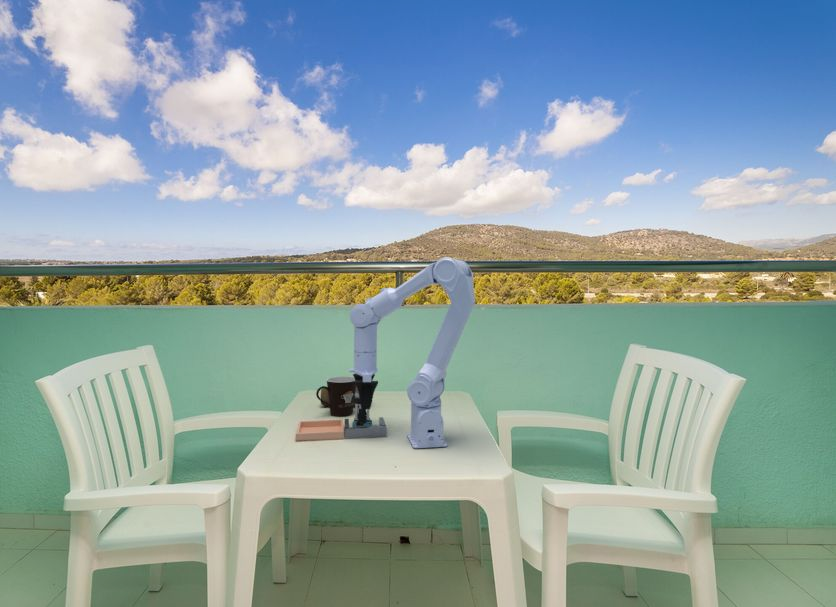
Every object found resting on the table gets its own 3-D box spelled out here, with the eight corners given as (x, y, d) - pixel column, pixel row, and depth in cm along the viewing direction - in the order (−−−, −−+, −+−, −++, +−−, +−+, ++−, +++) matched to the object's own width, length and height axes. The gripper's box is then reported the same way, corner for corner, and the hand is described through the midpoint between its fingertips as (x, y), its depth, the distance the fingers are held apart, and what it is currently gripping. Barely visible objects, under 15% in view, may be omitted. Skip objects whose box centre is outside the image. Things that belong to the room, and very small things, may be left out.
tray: (343, 439, 107) (343, 431, 107) (295, 441, 105) (295, 433, 105) (342, 426, 117) (342, 419, 117) (298, 428, 115) (298, 421, 115)
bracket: (386, 436, 110) (386, 427, 109) (345, 438, 108) (345, 428, 108) (382, 426, 118) (382, 417, 118) (344, 428, 116) (344, 418, 116)
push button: (378, 428, 116) (379, 390, 116) (376, 435, 111) (376, 395, 110) (353, 427, 116) (353, 389, 116) (349, 434, 111) (350, 394, 111)
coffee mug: (354, 409, 135) (354, 376, 134) (358, 416, 126) (358, 381, 126) (315, 411, 132) (315, 377, 131) (316, 419, 123) (316, 383, 123)
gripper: (348, 347, 119) (347, 398, 120) (350, 356, 105) (349, 413, 105) (374, 347, 121) (374, 397, 121) (380, 355, 106) (379, 412, 107)
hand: (364, 404), depth 113 cm, fingers open, 7 cm apart
